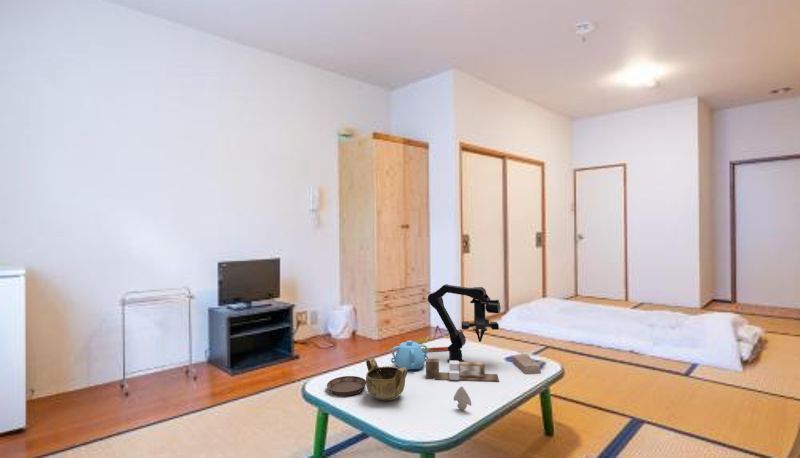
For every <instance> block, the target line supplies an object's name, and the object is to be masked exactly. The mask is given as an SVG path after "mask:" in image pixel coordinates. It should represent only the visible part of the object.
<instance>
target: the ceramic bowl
mask: <svg viewBox="0 0 800 458" xmlns="http://www.w3.org/2000/svg"><path fill="white" fill-rule="evenodd" d="M365 364H366V369H367V370H368V371H367V373H366V375H365V380H366V385H365V387H366V389H367V392H368V393H369V395H370V396H371V397H373V398H374V399H376V400H379V401H385V402H388V401H392V400H395V399H397V398H399V396H400V395H401V394H402V393H403V391H404V389H405V386H406V378H407V375H408V369H406V368H405V367H403V368H399V367H398V366H397V367H396V366H389V365H388V366H387V365H386V366H379V365H378V363H377V360H376V359H375V358H374V357H372V358H369V359H367V360H366V361H365Z"/></svg>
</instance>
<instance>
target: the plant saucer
mask: <svg viewBox="0 0 800 458" xmlns="http://www.w3.org/2000/svg"><path fill="white" fill-rule="evenodd" d="M326 387H327V389H328V390H329V392H330V393H332V394H333V395H334V396H335V395H337V396H341V397H343V396H344V397H345V396H347V397H348V396H353V395H356V394H359V393H360V392H362V390H363V389H364V388H365V387H366V378H363V377H360V376H356V375H345V376H339V377H335V378H333V379H330V380H329V381H328V382H326Z"/></svg>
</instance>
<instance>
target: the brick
mask: <svg viewBox="0 0 800 458" xmlns="http://www.w3.org/2000/svg"><path fill="white" fill-rule="evenodd" d="M512 364H513V365H514V366H515V367H516V368H517V369H519V370H520V372H522V373H524V374H525V375H538V374H539V375H540V374H541V365H540V363H538V362H536V361H535V360H534V359H533V358H532V357H531V356H530V355H529V354H517V355H512Z"/></svg>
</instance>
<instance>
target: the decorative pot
mask: <svg viewBox="0 0 800 458" xmlns="http://www.w3.org/2000/svg"><path fill="white" fill-rule="evenodd" d="M422 347H423V348H425V353H423V351H422V349H421V348H422ZM427 348H428V346H427V345H425V344H422V343H421V344H420V343H419V344H418V342H416V341H414V340H406V341H404V342H401V343H400V344H399V345H396V346H395V345H394V346H393V347H392V348H391V353H392V356H393V357H392V358H391V359H390V362H391V363H392V364H396V365H397V367H398V368H403V367H405V368H406V369H407V370H417V371H419V370H420V369H421V368H422V367H423V366H424V364H425V363H426V359H427V358H428V359H429V356H428V355H427V353H428V352H427ZM395 350H396V353H395Z"/></svg>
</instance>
